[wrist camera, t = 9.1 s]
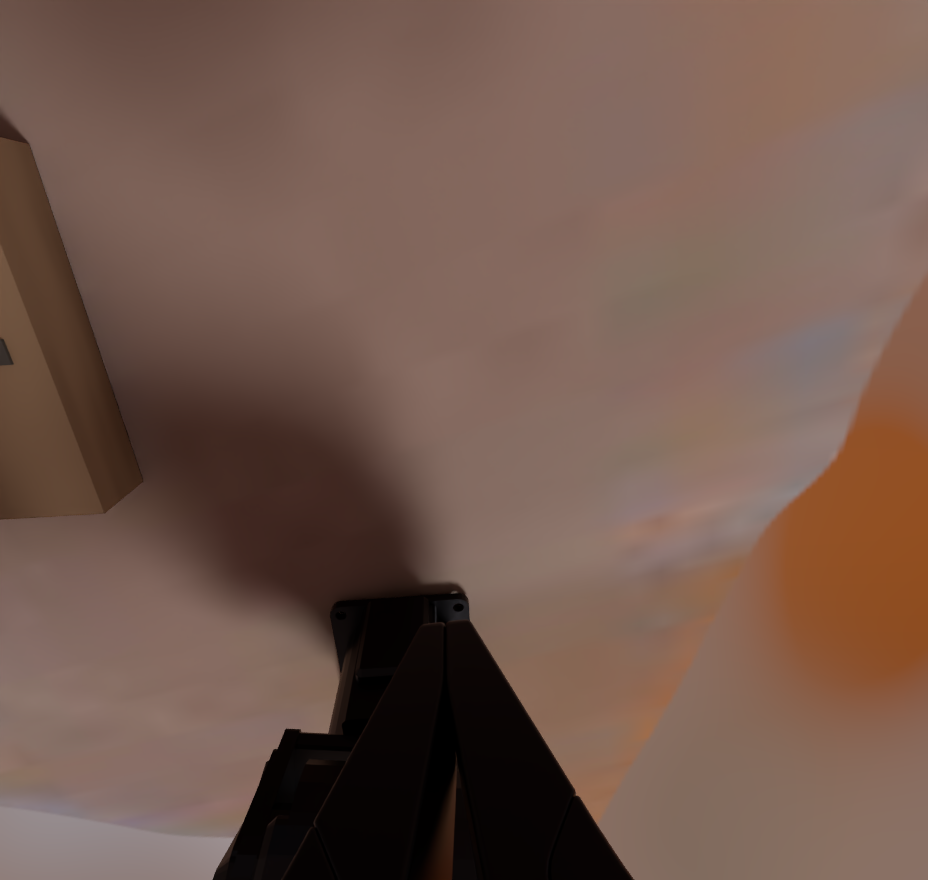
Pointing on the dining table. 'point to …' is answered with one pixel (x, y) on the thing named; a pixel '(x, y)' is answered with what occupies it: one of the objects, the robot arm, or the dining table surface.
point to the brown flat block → (50, 368)
